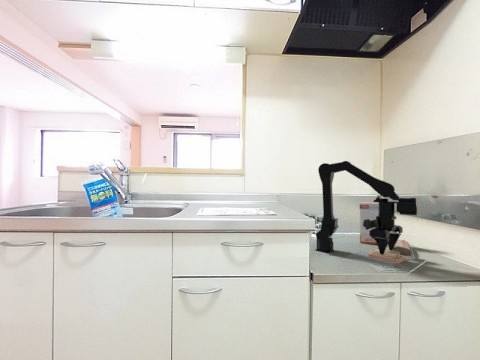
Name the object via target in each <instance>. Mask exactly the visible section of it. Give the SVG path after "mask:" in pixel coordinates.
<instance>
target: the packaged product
mask: <svg viewBox="0 0 480 360" xmlns="http://www.w3.org/2000/svg"><path fill="white" fill-rule="evenodd" d="M386 250H389V246H388V245H387V247H386ZM390 251H391V250H390ZM392 251H395V252H400V255H402V256H405V259H406V258H407V259H416V257H415V254H414V253H415V252H413V248H412V247H410V243H409V242H408V241H407V240H404V239H402V240H401V239H398V240H397V242H396V244H395V246H394V248H393V250H392Z"/></svg>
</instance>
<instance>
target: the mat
mask: <svg viewBox="0 0 480 360" xmlns="http://www.w3.org/2000/svg"><path fill="white" fill-rule="evenodd" d="M370 253H371V252H368V251H363V250H358V251H356V252H353V253H351V254H348V255H346V256H344V258H345V259H350V260H355V261H358V262H362V263H366V264H370V265H376V266H380V267H386V268H389V269H392V268H394V267H395V266H397V265H398V264H397V263H392V262H387V261H383V260H378V259H373V258H369V254H370Z"/></svg>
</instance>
